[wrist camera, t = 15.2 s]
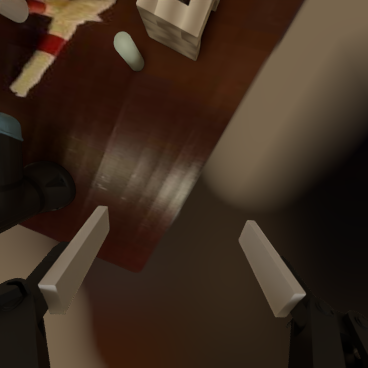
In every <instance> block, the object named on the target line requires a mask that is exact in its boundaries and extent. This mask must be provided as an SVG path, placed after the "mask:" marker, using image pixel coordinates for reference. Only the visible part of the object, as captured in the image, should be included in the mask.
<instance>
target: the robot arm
mask: <svg viewBox="0 0 368 368" xmlns="http://www.w3.org/2000/svg"><path fill="white" fill-rule="evenodd" d="M22 141H23V139H22V135H21V126H20V123H19V122H18V120H16V119H15V118H14V117H12V116H10V115H7V114H5V113H2V112H0V233H2V232H4V231H6V230H8V229H10V228H11V227H13V226H15V225H17V224H19V223H21V222H23V221H25V220H27V219H29V218H31V217H33V216H34V215H36V214H39V213H43V212H48V211H54V210H59V209H61V208H63V207H65V206H67V205H68V204H70V203H71V202H72V201H73V199H74V197H75V184H74V181H73V179H72V177H71V176H70V174H69V173H68V172H67V171H66V170H65V169H64V168H63V167H61V166H60V165H58V164H56V163H53V162H49V161H40V162H34V163H31V164H28V165H26V166H25V167H24V168H23V163H22ZM108 232H109V219H108V207H107V206H98V207H97V208H96V210H95V211H94V212H93V213H92V215H91V216H90V217H89V219H88V220H87V221H86V223H85V224H84V225H83V227H82V228H81V229H80V230H79V232H78V233H77V234H76V236H75V237H74V238H73V240H72V241H71V242H61V243H59V244H58V245H56V246H55V247H53V248H52V250H51V251H50V252H49V253H48V254H47V256H46V257H45V258H44V259H43V260H42V262H41V263H40V264H39V265H38V266H37V267H36V268H35V269H34V271H33V272H32V273H31V274H30V275H29V276H28V278H27V279H26V280H25V279H22V278H14V279H11V280H8V281H5V282H3V283H1V284H0V368H50V361H49V354H48V347H47V340H46V332H45V325H44V319H43V316H44V314H45V313H46V311H47V310H49V312H50V314H65V313H66V311H67V310H68V308H69V306H70V304H71V302H72V300H73V298H74V296H75V294H76V292H77V290H78V289H79V287H80V285H81V283H82V281H83V279H84V277H85V275H86V274H87V271H88V270H89V268H90V266H91V264H92V262H93V260H94V258H95V256H96V255H97V253H98V251H99V249H100V247H101V245H102V243H103V241H104V239H105V237H106V236H107V234H108ZM239 243H240V244H241V247H242V249H243V251H244V253H245V255H246V257H247V259H248V261H249V263H250V265H251V267H252V269H253V271H254V274H255V276H256V278H257V280H258V282H259V284H260V286H261V288H262V290H263V292H264V294H265V296H266V298H267V301H268V303H269V305H270V307H271V309H272V311H273V313H274V315H275V317H286V316H287V315H288V314H289V313H291V315H292V317H293V318H292V319H291V320H290V321H289V322H288V323H287V325H286V327H287V328H288V327H289V326H290V325H291V330H290V346H289V362H288V368H368V319H367V318H365V317H364V316H363V315H361V314H360V313H358V312H356V311H348V312H347V313H346V314H344V313H341V312H338V311H336V310H333V309H332V308H331V307H330V306H329V305H328V304H327V303H326V302H324V301H323V300H321V299H319V298H317V297H315V296H314V295H313V293H312V292H311V291H310V289H309V288H308V287H307V285H306V284H305V283H304V281H303V280H302V279H301V277H300V276H299V275H298V273H297V272H296V271H295V270H294V268H293V266H292V265H291V264H290V262H288V261H287V260H286V259H285V258H284V257H283V256H279V255H278V253H277V252H276V250H275V249H274V248H273V246H272V245H271V243H270V242H269V241H268V239H267V238H266V236H265V235H264V233H263V232H262V231H261V229H260V228H259V226H258V225H257V224H256V222H255V221H251V220H247V222H246V224H245V227H244V229H243V231H242V234H241V236H240V238H239ZM357 351H358V353H359V355H360V357H361V359H359V357H358V356H357V353H356V352H357Z"/></svg>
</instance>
